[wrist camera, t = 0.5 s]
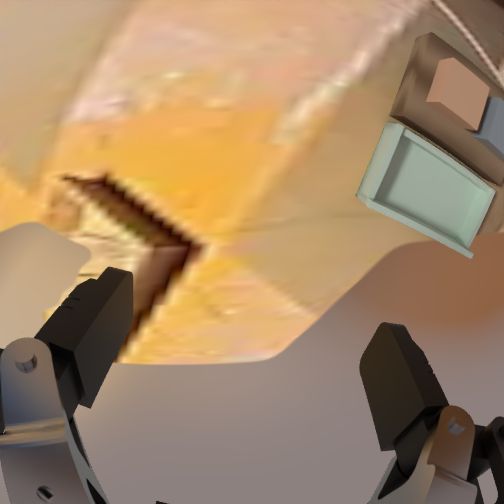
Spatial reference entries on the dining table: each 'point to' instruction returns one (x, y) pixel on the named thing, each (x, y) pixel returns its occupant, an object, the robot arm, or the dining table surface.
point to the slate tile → (492, 127)
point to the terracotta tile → (458, 93)
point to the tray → (425, 189)
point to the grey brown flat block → (433, 121)
